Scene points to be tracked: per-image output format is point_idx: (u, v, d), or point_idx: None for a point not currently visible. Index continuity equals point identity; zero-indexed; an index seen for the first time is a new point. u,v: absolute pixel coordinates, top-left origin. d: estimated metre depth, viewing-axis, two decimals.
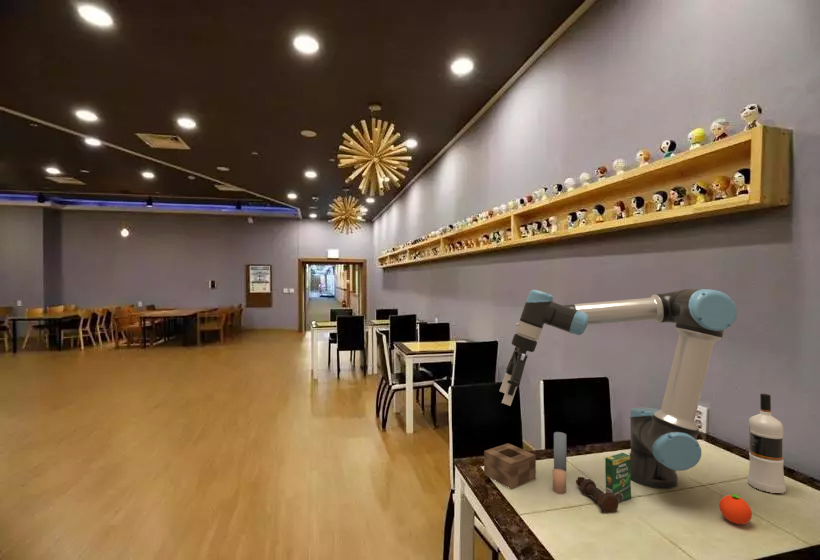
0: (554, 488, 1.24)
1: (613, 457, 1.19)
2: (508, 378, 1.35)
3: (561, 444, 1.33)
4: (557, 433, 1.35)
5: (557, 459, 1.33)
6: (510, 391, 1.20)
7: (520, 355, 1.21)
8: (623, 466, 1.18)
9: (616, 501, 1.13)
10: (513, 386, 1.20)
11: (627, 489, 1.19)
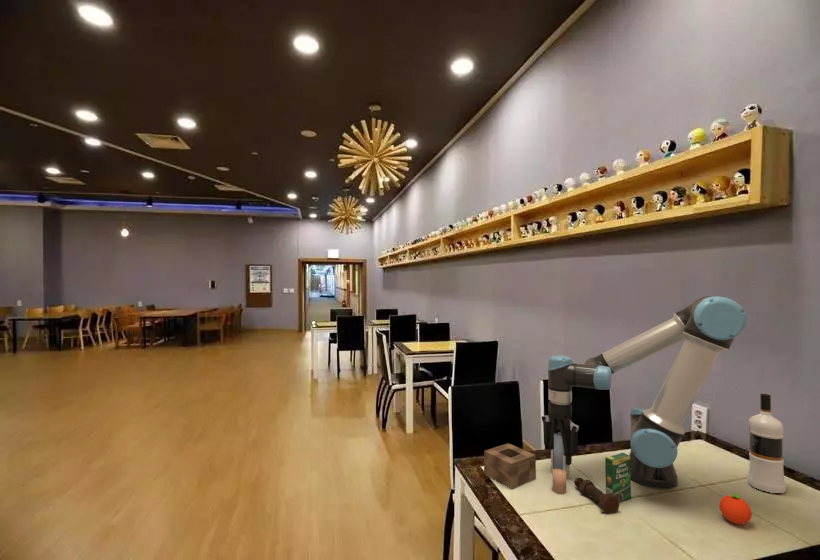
0: (554, 488, 1.24)
1: (613, 457, 1.19)
2: None
3: (561, 444, 1.33)
4: (557, 433, 1.35)
5: (557, 459, 1.33)
6: (569, 461, 1.31)
7: (575, 429, 1.29)
8: (623, 466, 1.18)
9: (617, 501, 1.12)
10: (570, 456, 1.31)
11: (627, 489, 1.19)
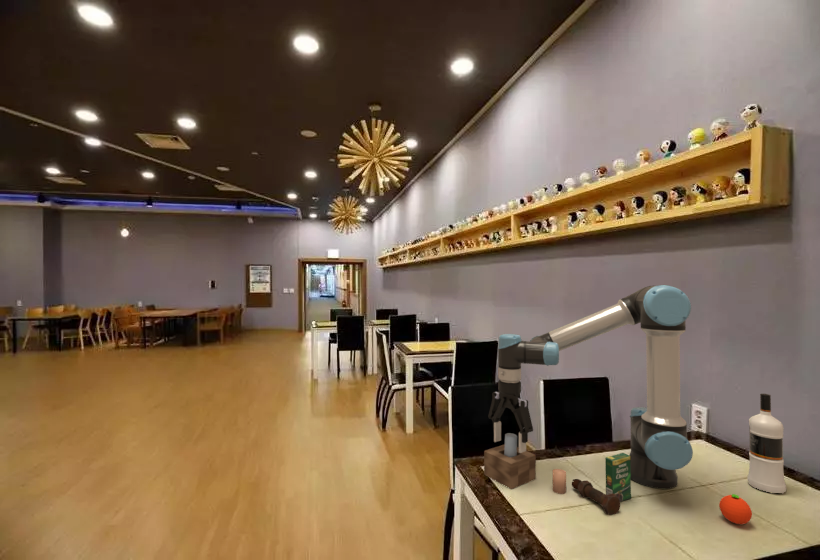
0: (554, 488, 1.24)
1: (613, 457, 1.19)
2: (498, 426, 1.38)
3: (511, 446, 1.31)
4: (508, 434, 1.33)
5: None
6: (525, 439, 1.28)
7: (524, 403, 1.28)
8: (623, 466, 1.18)
9: (618, 502, 1.12)
10: (526, 433, 1.28)
11: (627, 489, 1.19)
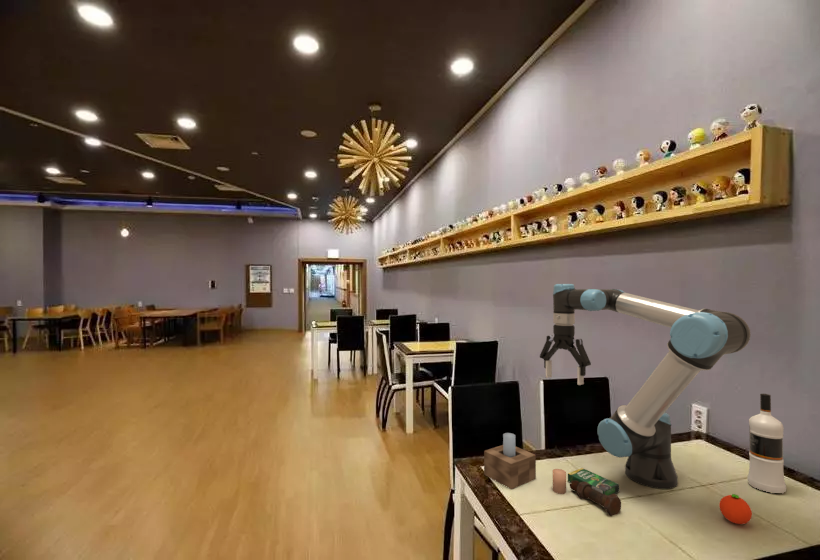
0: (554, 488, 1.24)
1: None
2: (549, 364, 1.55)
3: (509, 445, 1.31)
4: (506, 434, 1.34)
5: None
6: (583, 372, 1.42)
7: (579, 341, 1.44)
8: (582, 472, 1.30)
9: (619, 502, 1.12)
10: (584, 367, 1.43)
11: (606, 480, 1.25)
